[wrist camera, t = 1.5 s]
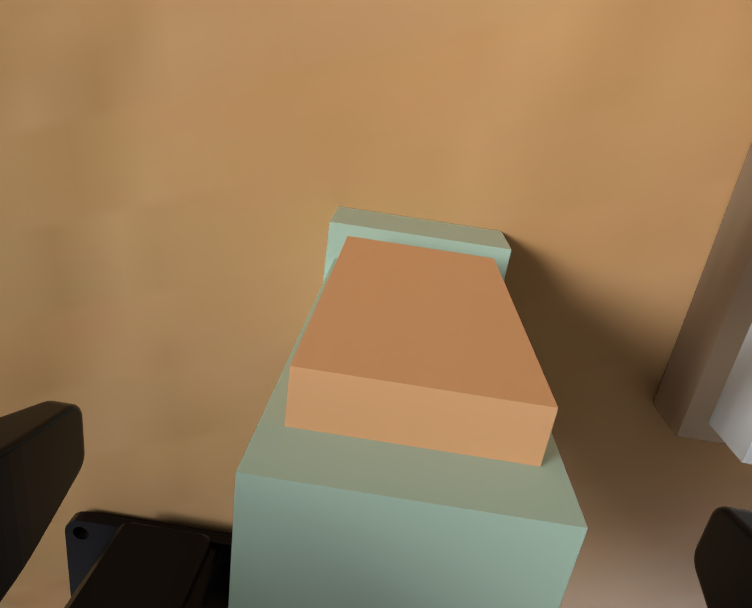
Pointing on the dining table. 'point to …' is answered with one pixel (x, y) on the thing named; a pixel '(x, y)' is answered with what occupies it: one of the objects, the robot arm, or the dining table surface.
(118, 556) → the robot arm
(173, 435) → the dining table surface
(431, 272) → the stepped sage green block
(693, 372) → the rail board
